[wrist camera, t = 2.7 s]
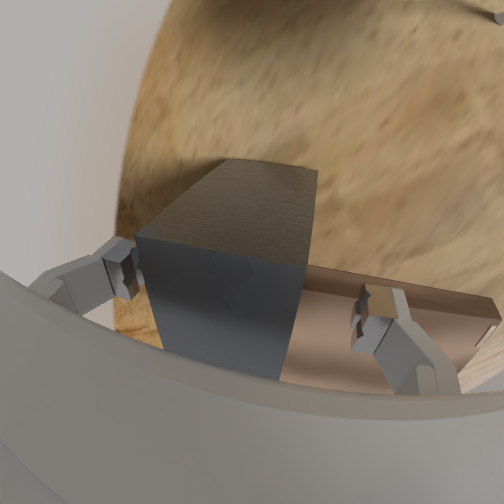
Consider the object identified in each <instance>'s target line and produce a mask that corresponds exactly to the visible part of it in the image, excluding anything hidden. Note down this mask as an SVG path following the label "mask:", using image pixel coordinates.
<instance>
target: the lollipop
mask: <svg viewBox="0 0 504 504" xmlns="http://www.w3.org/2000/svg"><path fill="white" fill-rule="evenodd" d="M494 19H495V21H496V22H497V23H498V24H499V25H504V12H501V13H498V14H494Z"/></svg>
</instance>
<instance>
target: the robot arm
mask: <svg viewBox="0 0 504 504" xmlns="http://www.w3.org/2000/svg"><path fill="white" fill-rule="evenodd" d="M142 284H145V282H144V278H143V274H142V270H141V265H140V261H139V257H138V252H137V247H136V243H135V240H133V239H128V238H124V237H119V236H115V237H112V238H111V239H110V240H109V241H108V242H106V243H105V244H104V245H103V246H102V247H101V248H100V249H98V250H97V251H96V252H95V253H94V254H93V255H91V256H90V255H88V256H85V257H82V258H79V259H77V260H74V261H71V262H69V263H66V264H63V265H61V266H58V267H55V268H53V269H50V270H48V271H45V272H44V273H43V274H41V275H40V276H39V277H38V278H37V279H36V280H35V281H34V282H33V283H32V284H31V285H30V286H29V287H28V288H27V287H25V286H24V285H22V284H21V283H19V282H17V281H16V280H14V279H13V278H11V277H9V276H8V275H6V274H5V273H3V272H2V271H0V504H504V390H498V391H491V392H482V393H471V394H461V390H460V385H459V380H458V376H457V371H456V367H455V365H454V364H453V362H452V361H451V360H450V359H449V358H448V357H447V356H446V354H445V353H444V352H443V351H442V350H441V349H440V348H439V347H438V345H437V344H436V343H435V342H434V341H433V340H432V339H431V338H430V337H429V336H428V334H427V333H426V332H425V331H424V330H423V329H422V328H421V327H420V326H419V325H418V324H417V323H416V322H414V321H412V319H411V315H410V311H409V308H408V304H407V300H406V297H405V293H404V290H403V289H400V288H393V287H383V286H377V285H371V284H365V283H363V284H362V286H361V288H360V291H359V299H358V300H357V301H356V302H355V304H354V307H353V310H352V314H351V328H352V329H353V333H352V335H351V351H352V352H358V353H364V354H371V355H373V357H374V358H375V360H376V362H377V364H378V365H379V367H380V369H381V370H382V372H383V374H384V376H385V377H386V379H387V381H388V383H389V384H390V386H391V388H392V390H393V391H394V394H393V395H390V394H374V393H361V392H351V391H342V390H333V389H326V388H319V387H312V386H306V385H299V384H294V383H288V382H283V381H278V380H272V379H268V378H263V377H258V376H254V375H249V374H245V373H241V372H237V371H233V370H229V369H225V368H221V367H218V366H214V365H211V364H207V363H204V362H200V361H197V360H194V359H190V358H187V357H184V356H181V355H178V354H175V353H172V352H169V351H166V350H163V349H160V348H157V347H154V346H152V345H149V344H146V343H143V342H141V341H138V340H136V339H133V338H130V337H128V336H125V335H123V334H121V333H118V332H116V331H113V330H111V329H109V328H106V327H104V326H102V325H99V324H97V323H95V322H93V321H91V320H88V319H86V318H84V317H82V316H83V315H84V314H86V313H88V312H89V311H91V310H93V309H94V308H96V307H98V306H100V305H101V304H103V303H105V302H107V301H108V300H110V299H112V298H113V297H115V296H117V297H120V298H124V299H127V300H130V301H131V300H132V299H133V298H134V296H135V295H136V294H137V293H138V292H139V290H140V288H139V286H140V285H142Z"/></svg>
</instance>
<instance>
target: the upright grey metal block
mask: <svg viewBox="0 0 504 504" xmlns="http://www.w3.org/2000/svg"><path fill="white" fill-rule="evenodd" d="M317 177H318V170H312V169H306V168H300V167H293V166H287V165H280V164H272V163H264V162H256V161H247V160H237V159H227V160H225V161H224V162H223V163H221V164H220V165H219V166H217V167H216V168H215V169H213V170H212V171H211V172H209V173H208V174H207V175H205V176H204V177H203V178H201V179H200V180H199V181H198V182H196V183H195V184H194V185H193V186H191V187H190V188H189V189H187V190H186V191H185V192H184V193H183V194H181V195H180V196H179V197H178V198H176V199H175V200H174V201H173V202H172V203H170V204H169V205H168V206H167V207H166V208H164V209H163V210H162V211H161V212H160V213H158V214H157V215H156V216H155V217H154V218H153V219H151V220H150V221H149V222H148V223H147V224H146V225H145V226H144V227H142V228H141V229H140V230H139V231H138V232H137V233H136V234H135V235H134V238H135V243H136V247H137V252H138V257H139V261H140V265H141V270H142V274H143V278H144V282H145V286H146V290H147V294H148V297H149V301H150V305H151V308H152V312H153V315H154V318H155V322H156V325H157V328H158V332H159V335H160V338H161V341H162V344H163V347H164V350H166V351H169V352H172V353H175V354H178V355H181V356H184V357H187V358H190V359H194V360H197V361H200V362H204V363H207V364H211V365H214V366H218V367H221V368H225V369H229V370H233V371H237V372H241V373H245V374H249V375H254V376H258V377H263V378H268V379H272V380H278V381H279V379H280V375H281V372H282V368H283V365H284V361H285V357H286V353H287V350H288V346H289V342H290V338H291V334H292V330H293V326H294V322H295V318H296V314H297V310H298V306H299V302H300V297H301V293H302V289H303V284H304V280H305V275H306V270H307V265H308V257H309V250H310V242H311V234H312V226H313V217H314V208H315V198H316V188H317Z"/></svg>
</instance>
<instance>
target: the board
mask: <svg viewBox="0 0 504 504" xmlns="http://www.w3.org/2000/svg"><path fill="white" fill-rule="evenodd" d="M363 283H365V284H371V285H377V286H383V287H393V288H400V289H403V290H404V293H405V297H406V300H407V304H408V308H409V311H410V315H411V319H412V321H414V322H416V323H417V324H418V325H419V326H420V327H421V328H422V329H423V330H424V331H425V332H426V333H427V334H428V336H429V337H430V338H431V339H432V340H433V341H434V342H435V343H436V344H437V345H438V347H439V348H440V349H441V350H442V351H443V352H444V353H445V354H446V356H447V357H448V358H449V359H450V360H451V361H452V362H453V364H454V365H455V367H456V371H457V374H458V373H459V372H460V371H461V370H462V369H463V368H464V367H465V365H466V364H467V363H468V362H469V361H470V360H471V359H472V358H473V357H474V355H475V354H476V353H477V352H478V351H479V350H480V348H481V347H482V346H483V345H484V343H485V342H486V341H487V340H488V338H489V337H490V336H491V335H492V333H493V332H494V331H495V329H496V328H497V327H498V325H499V324H500V322H501V321H502V318H501V316H500V314H499V312H498V310H497V308H496V306H495V303H494V301H493V300H492V299H491V298H486V297H480V296H474V295H469V294H463V293H458V292H452V291H447V290H441V289H436V288H430V287H425V286H419V285H414V284H408V283H403V282H397V281H392V280H386V279H381V278H375V277H370V276H364V275H359V274H354V273H348V272H343V271H337V270H332V269H327V268H321V267H316V266H310V265H307V270H306V275H305V280H304V284H303V289H302V293H301V297H300V302H299V306H298V310H297V314H296V318H295V322H294V326H293V330H292V334H291V338H290V342H289V346H288V350H287V353H286V357H285V361H284V365H283V368H282V372H281V375H280V379H279V381H283V382H288V383H294V384H299V385H306V386H312V387H319V388H326V389H333V390H342V391H351V392H361V393H374V394H390V395H393V394H394V391H393V390H392V388H391V386H390V384H389V383H388V381H387V379H386V377H385V376H384V374H383V372H382V370H381V369H380V367H379V365H378V364H377V362H376V360H375V358H374V357H373V355H371V354H364V353H358V352H352V351H351V335H352V333H353V329H352V328H351V314H352V310H353V307H354V304H355V302H356V301H357V300H358V299H359V291H360V288H361V286H362V284H363Z"/></svg>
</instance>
